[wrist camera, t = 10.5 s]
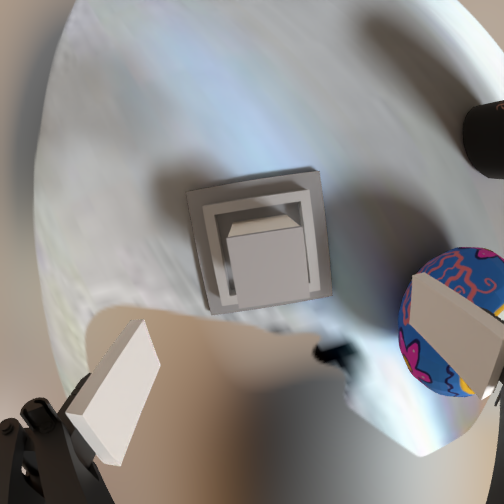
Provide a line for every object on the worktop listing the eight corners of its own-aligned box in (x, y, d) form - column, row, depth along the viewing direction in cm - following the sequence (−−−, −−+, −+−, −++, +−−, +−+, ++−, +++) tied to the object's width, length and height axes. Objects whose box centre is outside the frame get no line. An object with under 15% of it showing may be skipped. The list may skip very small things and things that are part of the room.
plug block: (232, 221, 29) (226, 238, 21) (286, 213, 29) (302, 226, 21) (241, 273, 31) (239, 308, 22) (292, 265, 31) (309, 297, 22)
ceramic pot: (421, 368, 36) (468, 428, 21) (351, 316, 33) (405, 392, 19) (486, 281, 33) (551, 317, 18) (433, 206, 30) (521, 226, 16)
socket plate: (187, 191, 29) (181, 192, 27) (317, 171, 29) (323, 170, 27) (212, 312, 33) (209, 322, 30) (330, 293, 32) (336, 301, 30)
